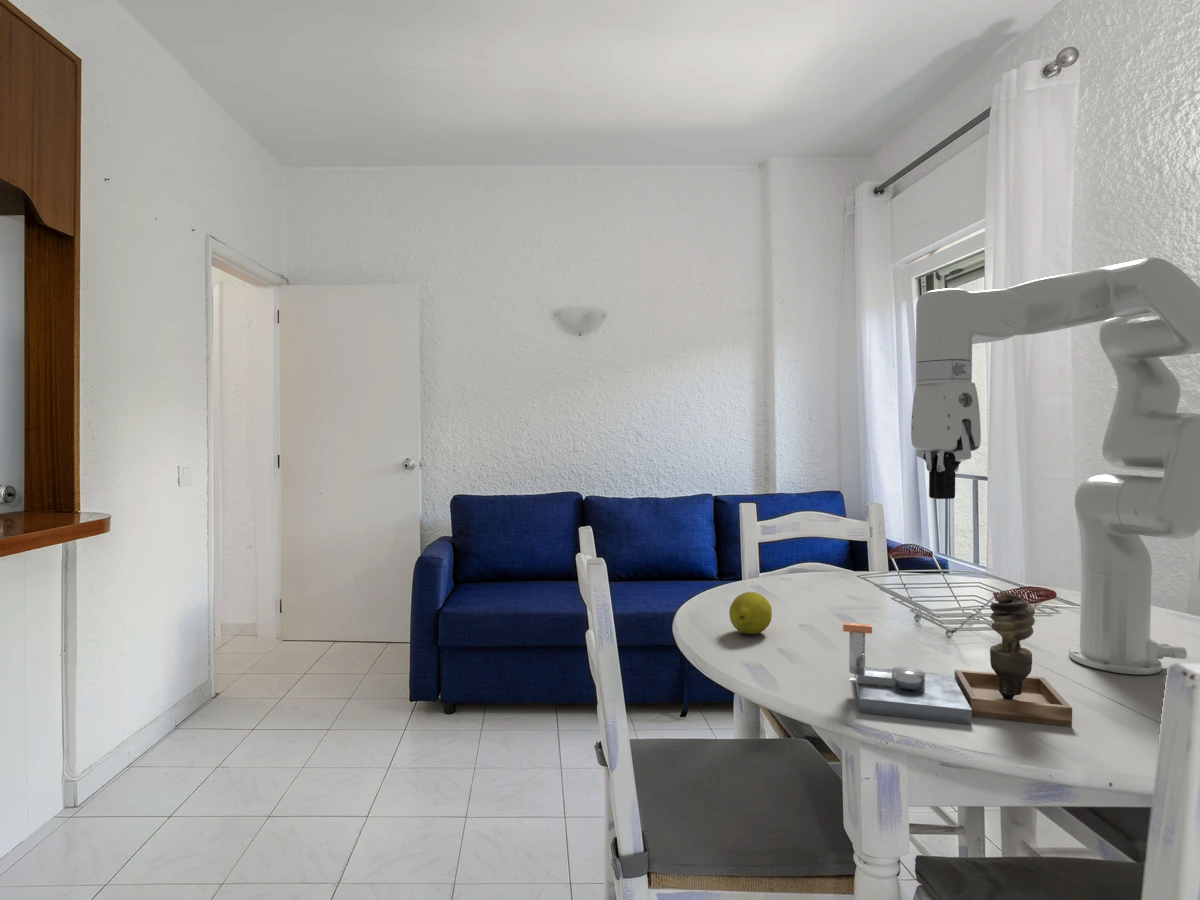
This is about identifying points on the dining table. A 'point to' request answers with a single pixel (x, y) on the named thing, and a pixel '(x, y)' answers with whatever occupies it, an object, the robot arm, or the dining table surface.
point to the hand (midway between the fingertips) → (941, 497)
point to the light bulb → (1011, 643)
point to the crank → (898, 677)
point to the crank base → (915, 699)
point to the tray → (1014, 699)
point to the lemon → (750, 613)
